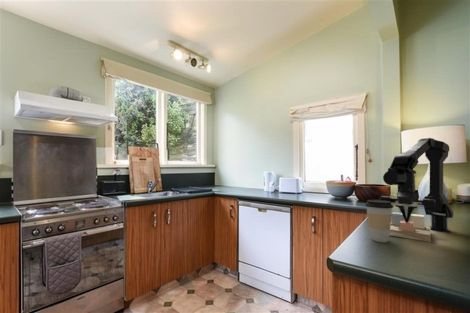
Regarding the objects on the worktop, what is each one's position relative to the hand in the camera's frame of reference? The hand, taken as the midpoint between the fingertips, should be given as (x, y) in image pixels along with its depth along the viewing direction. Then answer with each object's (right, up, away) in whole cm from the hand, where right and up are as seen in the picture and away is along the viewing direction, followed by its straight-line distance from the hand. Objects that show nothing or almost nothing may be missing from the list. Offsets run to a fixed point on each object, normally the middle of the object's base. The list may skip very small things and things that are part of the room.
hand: (406, 222), depth 99 cm
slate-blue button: (+2, -3, +8) cm, 9 cm away
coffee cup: (-15, -5, -6) cm, 17 cm away
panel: (+2, -6, +3) cm, 7 cm away
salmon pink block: (0, -5, 0) cm, 5 cm away
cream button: (+8, -3, +4) cm, 9 cm away
